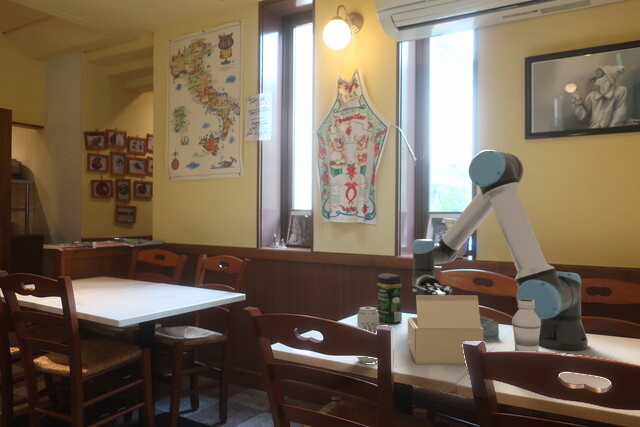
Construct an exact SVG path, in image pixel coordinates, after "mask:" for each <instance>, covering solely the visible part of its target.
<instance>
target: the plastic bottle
mask: <svg viewBox="0 0 640 427" xmlns="http://www.w3.org/2000/svg"><path fill="white" fill-rule="evenodd" d="M517 308H518V310H517V311H516V312H515V314H514V315H513V317H512V319H511V324H512V331H513V338H514V352H515V351H536V352H539V353H540V351H539V349H540V348H539V346H540V345H539V335H540V327H541V322H540V319H539V317H538V316H537V314H536V313H535V312H534V308H535V301H534V300H530V299H519V300H518V302H517Z"/></svg>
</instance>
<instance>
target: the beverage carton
mask: <svg viewBox="0 0 640 427" xmlns="http://www.w3.org/2000/svg"><path fill="white" fill-rule="evenodd" d="M480 324H481V327H482V328H483V339H484V340H485V341H486V340H497V339H499V338H500V335H499V334H500V332H499V330H500V329H499V321H496V320H494V319H493V318H490V317H487V316H484V315H482V314H480ZM484 340H483V341H484Z"/></svg>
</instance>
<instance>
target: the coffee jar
mask: <svg viewBox="0 0 640 427" xmlns="http://www.w3.org/2000/svg"><path fill="white" fill-rule="evenodd" d="M376 284H377V292H378V293H377V312H378V314H379V322H383V323H385V322H387V323H386V324H398V323H401V322H402V321H403V320H402V319H403V318H402V317H403V315H402V301H401V298H402V296H401V295H402V294H401V293H402V285H403V284H402V277H401V276H400V275H398V274H394V273H393V274H392V273H386V272H385V273H380V274H379V275H378V276H377V282H376Z"/></svg>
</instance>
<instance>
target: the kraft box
mask: <svg viewBox="0 0 640 427" xmlns="http://www.w3.org/2000/svg"><path fill="white" fill-rule="evenodd" d="M407 341H408V350H409V353H410V355H411V357H412V359H413V361H414V363H415V365H419V366H420V365H429V366H430V365H431V366H435V365H436V366H440V365H441V366H467V365H466V363H465V358H464V353H463V347H462V344H463V342H465V341H483V342H484V340H483V328H482V327H481V329H472V328H418V322H417V317H408V318H407Z"/></svg>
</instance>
